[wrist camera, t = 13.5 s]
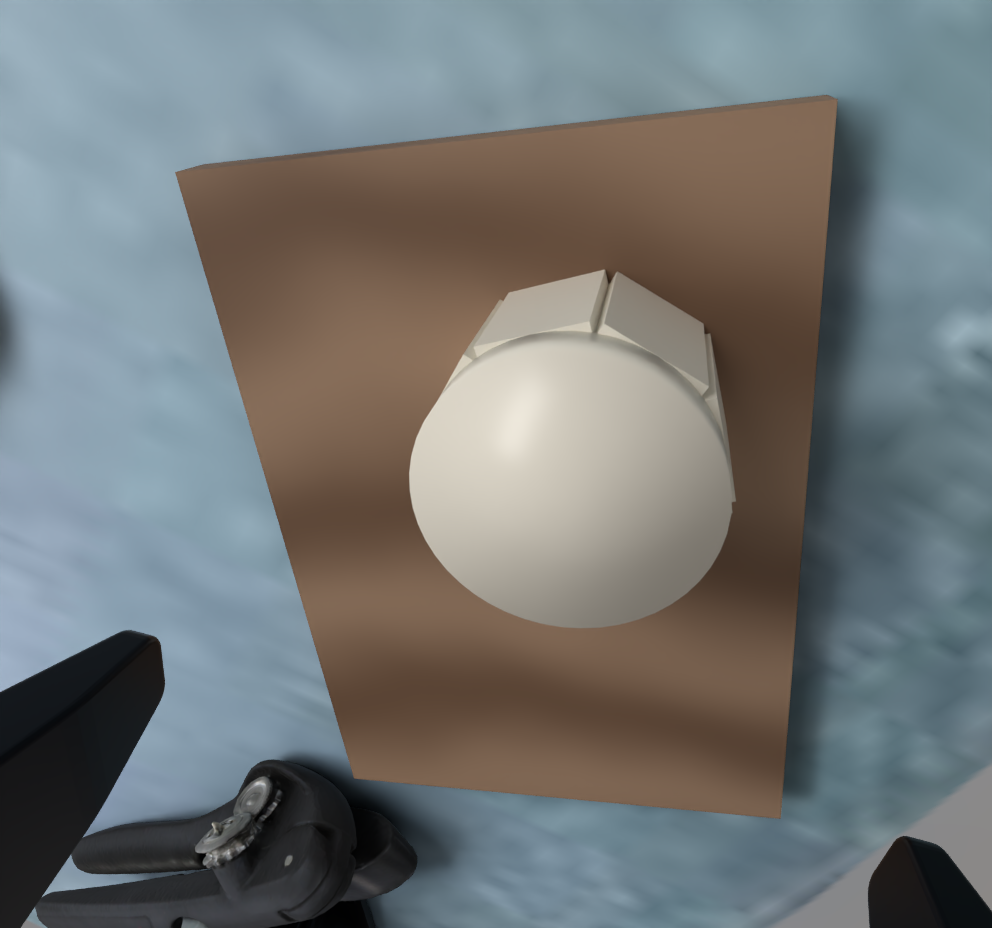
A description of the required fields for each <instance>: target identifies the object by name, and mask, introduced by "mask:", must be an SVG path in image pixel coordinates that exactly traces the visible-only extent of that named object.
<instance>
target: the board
mask: <svg viewBox="0 0 992 928" xmlns="http://www.w3.org/2000/svg"><path fill="white" fill-rule="evenodd" d="M837 100H838V99H835V98H833V97H831V96H828V95H822V96H813V97H804V98H795V99H786V100H777V101H768V102H759V103H750V104H741V105H732V106H723V107H714V108H706V109H697V110H688V111H679V112H670V113H661V114H652V115H643V116H634V117H625V118H616V119H607V120H598V121H589V122H580V123H571V124H562V125H553V126H544V127H535V128H526V129H517V130H508V131H499V132H490V133H482V134H473V135H464V136H455V137H446V138H437V139H428V140H419V141H410V142H401V143H392V144H383V145H374V146H365V147H356V148H347V149H338V150H329V151H320V152H311V153H302V154H293V155H284V156H275V157H266V158H258V159H249V160H240V161H231V162H222V163H213V164H204V165H200V166H196V167H193V168H189V169H185V170H182V171H178V172H175V173H176V176H177V180H178V183H179V186H180V190H181V193H182V197H183V200H184V203H185V207H186V210H187V214H188V217H189V220H190V224H191V227H192V231H193V234H194V237H195V241H196V244H197V247H198V251H199V254H200V258H201V261H202V264H203V268H204V271H205V275H206V278H207V281H208V285H209V288H210V292H211V295H212V298H213V302H214V305H215V308H216V312H217V315H218V319H219V322H220V325H221V329H222V332H223V336H224V339H225V342H226V346H227V349H228V353H229V356H230V359H231V363H232V366H233V369H234V373H235V376H236V380H237V383H238V386H239V390H240V393H241V397H242V400H243V403H244V407H245V410H246V413H247V417H248V420H249V424H250V427H251V430H252V434H253V437H254V441H255V444H256V447H257V451H258V454H259V458H260V461H261V464H262V468H263V471H264V474H265V478H266V481H267V485H268V488H269V491H270V495H271V498H272V502H273V505H274V508H275V512H276V515H277V519H278V522H279V525H280V529H281V532H282V535H283V539H284V542H285V546H286V549H287V552H288V556H289V559H290V563H291V566H292V569H293V573H294V576H295V580H296V583H297V586H298V590H299V593H300V596H301V600H302V603H303V607H304V610H305V613H306V617H307V620H308V624H309V627H310V630H311V634H312V637H313V641H314V644H315V647H316V651H317V654H318V657H319V661H320V664H321V668H322V671H323V674H324V678H325V681H326V685H327V688H328V691H329V695H330V698H331V702H332V705H333V708H334V712H335V715H336V718H337V722H338V725H339V729H340V732H341V735H342V739H343V742H344V746H345V749H346V752H347V756H348V759H349V762H350V766H351V769H352V773H353V776H354V779H365V780H375V781H386V782H397V783H407V784H418V785H428V786H439V787H450V788H460V789H471V790H482V791H492V792H503V793H513V794H524V795H535V796H545V797H556V798H567V799H577V800H588V801H598V802H609V803H620V804H630V805H641V806H652V807H662V808H673V809H683V810H694V811H705V812H715V813H726V814H736V815H747V816H758V817H768V818H779V819H781V807H782V794H783V781H784V769H785V756H786V743H787V731H788V718H789V706H790V693H791V680H792V668H793V655H794V642H795V630H796V617H797V605H798V592H799V579H800V567H801V554H802V541H803V529H804V516H805V504H806V491H807V478H808V466H809V453H810V441H811V428H812V415H813V403H814V390H815V377H816V365H817V352H818V340H819V327H820V314H821V302H822V289H823V276H824V264H825V251H826V239H827V226H828V213H829V201H830V188H831V175H832V163H833V150H834V138H835V125H836V112H837ZM601 270H605V271H606V275H607V280H608V284H609V283H610V282H611V280H612V279H613V277H614V276H615V274H616V272H617V271H618V272H619V273H621V274H623V275H624V276H626V277H628V278H629V279H631V280H633V281H634V282H636V283H637V284H639V285H641V286H642V287H644V288H646V289H647V290H649V291H651V292H652V293H654V294H656V295H657V296H659V297H660V298H662V299H664V300H665V301H667V302H669V303H670V304H672V305H674V306H675V307H677V308H679V309H680V310H682V311H684V312H685V313H687V314H688V315H690V316H692V317H693V318H695V319H697V320H698V321H700V322H702V323H703V324H704V334H708V333H710V336H711V341H712V347H713V352H714V358H715V363H716V369H717V375H718V380H719V386H720V391H721V397H722V402H723V408H724V414H725V419H726V426H727V434H728V442H729V450H730V458H731V466H732V474H733V482H734V490H735V498H736V502H732V512H733V513H732V514H731V518H730V523H729V527H728V532H727V535H726V538H725V540H724V543H723V546H722V548H721V551H720V553H719V554H718V556H717V558H716V559H715V561H714V563H713V565H712V566H711V568H710V569H709V570H708V571H707V573H706V574H705V575H704V576H703V578H702V579H701V580H700V581H699V582H698V583H697V584H696V585H695V586H694V587H693V588H692V589H691V590H690V591H689V592H688V593H687V594H685V595H684V596H682V597H681V598H680V599H678V600H677V601H675V602H674V603H673V604H671V605H669V606H667V607H665V608H664V609H662V610H660V611H658V612H656V613H654V614H651V615H649V616H646V617H644V618H641V619H639V620H635V621H632V622H628V623H624V624H620V625H614V626H608V627H601V628H567V627H558V626H552V625H546V624H541V623H537V622H533V621H530V620H526V619H523V618H520V617H518V616H515V615H512V614H510V613H507V612H505V611H503V610H501V609H499V608H497V607H495V606H493V605H491V604H489V603H488V602H486V601H484V600H483V599H481V598H480V597H478V596H477V595H475V594H474V593H472V592H471V591H470V590H468V589H467V588H466V587H465V586H463V585H462V584H461V583H460V582H459V581H458V580H457V579H456V578H454V577H453V576H452V575H451V574H450V573H449V572H448V571H447V570H446V568H445V567H444V566H443V565H442V563H441V562H440V561H439V560H438V559H437V557H436V556H435V555H434V553H433V551H432V550H431V548H430V547H429V545H428V544H427V542H426V540H425V538H424V536H423V534H422V532H421V530H420V528H419V525H418V523H417V520H416V516H415V513H414V510H413V507H412V501H411V495H410V483H409V471H410V462H411V455H412V451H413V448H414V444H415V440H416V437H417V435H418V433H419V431H420V429H421V426H422V424H423V422H424V420H425V419H426V417H427V416H428V414H429V413H430V411H431V410H432V408H433V407H434V405H435V404H436V402H437V401H438V399H439V397H440V395H441V394H442V392H443V390H444V388H445V386H446V384H447V383H448V381H449V379H450V377H451V375H452V374H453V372H454V370H455V368H456V366H457V365H458V363H459V361H460V359H461V357H462V356H463V354H464V352H465V351H466V349H467V348H468V346H469V345H470V343H471V342H472V340H473V339H474V337H475V336H476V334H477V333H478V331H479V330H480V328H481V327H482V325H483V324H484V322H485V321H486V319H487V318H488V316H489V315H490V313H491V312H492V310H493V309H494V308H495V306H496V305H497V303H498V302H499V300H502V301H504V299H505V298H506V296H507V295H508V293H509V292H513V291H518V290H522V289H526V288H530V287H534V286H538V285H542V284H547V283H551V282H555V281H559V280H563V279H567V278H571V277H576V276H580V275H584V274H588V273H592V272H596V271H601Z"/></svg>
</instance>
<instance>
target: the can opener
mask: <svg viewBox="0 0 992 928" xmlns="http://www.w3.org/2000/svg"><path fill="white" fill-rule="evenodd" d="M71 856H72V859H73V862H74V864H75V865H76V867H77V868H78V869H80V870H82V871H84V872H86V873H91V874H136V873H137V874H138V873H156V872H158V873H159V872H172V871H174V872H175V871H187V870H201V869H210V868H212V869H211V870H206V871H199V872H194V873H191V874H186V875H185V874H178V875H172V876H167V877H161V878H154V879H149V880H143V881H136V882H130V883H123V884H117V885H109V886H102V887H93V888H85V889H77V890H67V891H58V892H52V893H49V894H47V895H45V896H43V897H42V898H41V899H40V900H39V902H38V903H37V904H36V906H35V909H36V912H37V917H38V919H39V920H40V921H41V922H42V923H43V924H44V925H45V926H46V927H48V928H269V927H274V926H280V925H286V924H290V923H295V922H301V921H306V920H309V919H313V918H315V917H317V916H319V915H321V914H323V913H325V912H326V911H328V910H329V909H330V908H332V907H333V906H334V905H335V904H337V903H338V902H339V901H356V900H363V899H369V898H373V897H375V896H378V895H382V894H384V893H388V892H389V891H392V890H393V889H395V888H397V887H399V886H400V885H402V884H403V883H404V882H405V881H406V880H408V879H409V878H410V877H411V876H412V875H413V873H414V871H415V869H416V866H417V855H416V853H415V851H414V849H413V847H412V846H411V845H410V844H409V843H408V842H407V841H406V839H405V838H404V837H403V836H402V835H401V834H400V833H399V831H398V830H397V829H396V828H395V827H394V825H393V824H392V823H391V822H390V821H389V820H388V819H386V818H385V816H383V815H381V814H378V813H376V812H373V811H370V810H366V809H361V808H351V807H350V806H349V804H348V802H347V800H346V799H345V797H344V796H343V794H342V793H341V792H340V791H339V789H338V788H337V787H336V786H335V785H333V784H332V783H331V782H330V781H328V780H327V779H326V778H324V777H322V776H321V775H319V774H318V773H316V772H314V771H312V770H310V769H307V768H305V767H302V766H300V765H297V764H294V763H290V762H287V761H280V760H265V761H262V762H260V763H258V764H257V765H255V766H254V767H253V768H251V770H250V772H249V773H248V775H247V776H246V778H245V780H244V782H243V785H242V786H241V788H240V791H239V793H238V795H237V796H236V797H235V798H234V799H233V800H231V801H229V802H228V803H226V804H225V805H223V806H221V807H219V808H217V809H216V810H213V811H212V812H210V813H208V814H206V815H203V816H201V817H198V818H194V819H187V820H178V821H164V822H146V823H132V824H125V825H120V826H115V827H112V828H108V829H105V830H102V831H99V832H96V833H94V834H91V835H88V836H86V837H83V838H82V839H81V840H80V842H79V843H78V845H77V846H76V848H75V849H74V850H73V852H72V853H71Z"/></svg>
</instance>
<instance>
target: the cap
mask: <svg viewBox="0 0 992 928" xmlns="http://www.w3.org/2000/svg"><path fill="white" fill-rule="evenodd" d="M409 483H410V495H411V501H412V507H413V510H414V513H415V516H416V520H417V523H418V525H419V528H420V530H421V532H422V534H423V536H424V538H425V540H426V542H427V544H428V545H429V547H430V548H431V550H432V551H433V553H434V555H435V556H436V557H437V559H438V560H439V561H440V562H441V563H442V565H443V566H444V567H445V568H446V570H447V571H448V572H449V573H450V574H451V575H452V576H453V577H454V578H456V579H457V580H458V581H459V582H460V583H461V584H462V585H463V586H465V587H466V588H467V589H468V590H470V591H471V592H472V593H474V594H475V595H477V596H478V597H480V598H481V599H483V600H484V601H486V602H488V603H489V604H491V605H493V606H495V607H497V608H499V609H501V610H503V611H505V612H507V613H510V614H512V615H515V616H518V617H520V618H523V619H526V620H530V621H533V622H537V623H541V624H546V625H552V626H558V627H567V628H601V627H608V626H614V625H620V624H624V623H628V622H632V621H635V620H639V619H641V618H644V617H646V616H649V615H651V614H654V613H656V612H658V611H660V610H662V609H664V608H665V607H667V606H669V605H671V604H673V603H674V602H675V601H677V600H678V599H680V598H681V597H682V596H684V595H685V594H687V593H688V592H689V591H690V590H691V589H692V588H693V587H694V586H695V585H696V584H697V583H698V582H699V581H700V580H701V579H702V578H703V576H704V575H705V574H706V573H707V571H708V570H709V569H710V568H711V566H712V565H713V563H714V561H715V559H716V558H717V556H718V554H719V553H720V551H721V548H722V546H723V543H724V540H725V538H726V535H727V532H728V527H729V523H730V518H731V514H732V513H733V512H732V502H736V498H735V490H734V482H733V474H732V466H731V458H730V450H729V442H728V434H727V426H726V419H725V414H724V408H723V402H722V397H721V391H720V386H719V380H718V375H717V369H716V363H715V358H714V352H713V347H712V341H711V336H710V333H708V334H704V324H703V323H702V322H700V321H698V320H697V319H695V318H693V317H692V316H690V315H688V314H687V313H685V312H684V311H682V310H680V309H679V308H677V307H675V306H674V305H672V304H670V303H669V302H667V301H665V300H664V299H662V298H660V297H659V296H657V295H656V294H654V293H652V292H651V291H649V290H647V289H646V288H644V287H642V286H641V285H639V284H637V283H636V282H634V281H633V280H631V279H629V278H628V277H626V276H624V275H623V274H621V273H619V272H618V271H617V272H616V274H615V276H614V277H613V279H612V280H611V282H610V283H609V284H608V280H607V275H606V271H605V270H601V271H596V272H592V273H588V274H584V275H580V276H576V277H571V278H567V279H563V280H559V281H555V282H551V283H547V284H542V285H538V286H534V287H530V288H526V289H522V290H518V291H513V292H509V293H508V295H507V296H506V298H505V299H504V301H502V300H499V302H498V303H497V305H496V306H495V308H494V309H493V310H492V312H491V313H490V315H489V316H488V318H487V319H486V321H485V322H484V324H483V325H482V327H481V328H480V330H479V331H478V333H477V334H476V336H475V337H474V339H473V340H472V342H471V343H470V345H469V346H468V348H467V349H466V351H465V352H464V354H463V356H462V357H461V359H460V361H459V363H458V365H457V366H456V368H455V370H454V372H453V374H452V375H451V377H450V379H449V381H448V383H447V384H446V386H445V388H444V390H443V392H442V394H441V395H440V397H439V399H438V401H437V402H436V404H435V405H434V407H433V408H432V410H431V411H430V413H429V414H428V416H427V417H426V419H425V420H424V422H423V424H422V426H421V429H420V431H419V433H418V435H417V437H416V440H415V444H414V448H413V451H412V455H411V462H410V471H409Z"/></svg>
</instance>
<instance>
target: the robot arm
mask: <svg viewBox="0 0 992 928" xmlns="http://www.w3.org/2000/svg"><path fill="white" fill-rule="evenodd" d="M164 687H165V677H164V669H163V660H162V652H161V645H160V642H159V640H158V639H157V638H156V637H154V636H152V635H148V634H144V633H140V632H137V631H132V630H126V631H122V632H119V633H117V634H115V635H113V636H111V637H109V638H107V639H105V640H103V641H101V642H99V643H97V644H95V645H93V646H91V647H89V648H87V649H85V650H83V651H81V652H79V653H77V654H75V655H73V656H71V657H69V658H67V659H65V660H63V661H61V662H59V663H57V664H55V665H53V666H51V667H49V668H47V669H45V670H43V671H41V672H39V673H37V674H35V675H33V676H31V677H29V678H27V679H25V680H23V681H21V682H19V683H17V684H15V685H13V686H11V687H9V688H7V689H6V690H4V691H2V692H0V928H21V926H22V925H23V923H24V922H25V920H26V919H27V918H28V916H29V915H30V913H31V912H32V910H33V909H34V907H35V906H36V904H37V903H38V902H39V900H40V899H41V897H42V896H43V894H44V893H45V891H46V890H47V888H48V887H49V885H50V884H51V883H52V881H53V880H54V878H55V877H56V875H57V874H58V872H59V871H60V869H61V868H62V866H63V865H64V864H65V862H66V861H67V859H68V858H69V856H70V855H71V853H72V852H73V850H74V849H75V848H76V846H77V845H78V843H79V842H80V840H81V839H82V837H83V836H84V834H85V833H86V831H87V830H88V828H89V827H90V825H91V824H92V822H93V821H94V819H95V818H96V816H97V815H98V813H99V811H100V810H101V808H102V806H103V804H104V803H105V801H106V799H107V797H108V796H109V794H110V792H111V790H112V789H113V787H114V785H115V783H116V781H117V779H118V778H119V776H120V774H121V772H122V770H123V768H124V767H125V765H126V763H127V761H128V759H129V757H130V756H131V754H132V752H133V750H134V748H135V746H136V745H137V743H138V741H139V739H140V737H141V736H142V734H143V732H144V730H145V728H146V726H147V725H148V723H149V721H150V719H151V717H152V715H153V714H154V712H155V710H156V708H157V706H158V704H159V703H160V701H161V698H162V695H163V692H164ZM868 906H869V907H868V908H869V924H870V928H992V911H991V910H990V908H989V907H988V906H987V904H986V903H985V902H984V901H983V899H982V898H981V897H980V895H979V894H978V893H977V891H976V890H975V889H974V888H973V886H972V885H971V884H970V882H969V881H968V880H967V879H966V877H965V876H964V875H963V873H962V872H961V871H960V869H959V868H958V867H957V866H956V864H955V863H954V862H953V860H952V859H951V858H950V857H949V855H948V854H947V853H946V852H945V851H944V850H943V849H942V848H941V847H940V846H938V845H936V844H934V843H930V842H927V841H923V840H920V839H916V838H912V837H908V836H902V837H900V838H897V839H896V840H895V842H894V843H893V844H892V846H891V847H890V849H889V850H888V852H887V853H886V855H885V856H884V858H883V859H882V861H881V862H880V864H879V865H878V867H877V869H876V870H875V871H874V873H873V875H872V877H871V879H870V882H869V887H868ZM269 928H375V925H374V922H373V919H372V915H371V912H370V909H369V906H368V903H367V900H366V899H363V900H356V901H339V902H338V903H337V904H335V905H334V906H333V907H332V908H330V909H329V910H328V911H326V912H325V913H323V914H321V915H319V916H317V917H315V918H313V919H309V920H306V921H301V922H295V923H290V924H286V925H280V926H274V927H269Z"/></svg>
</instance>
